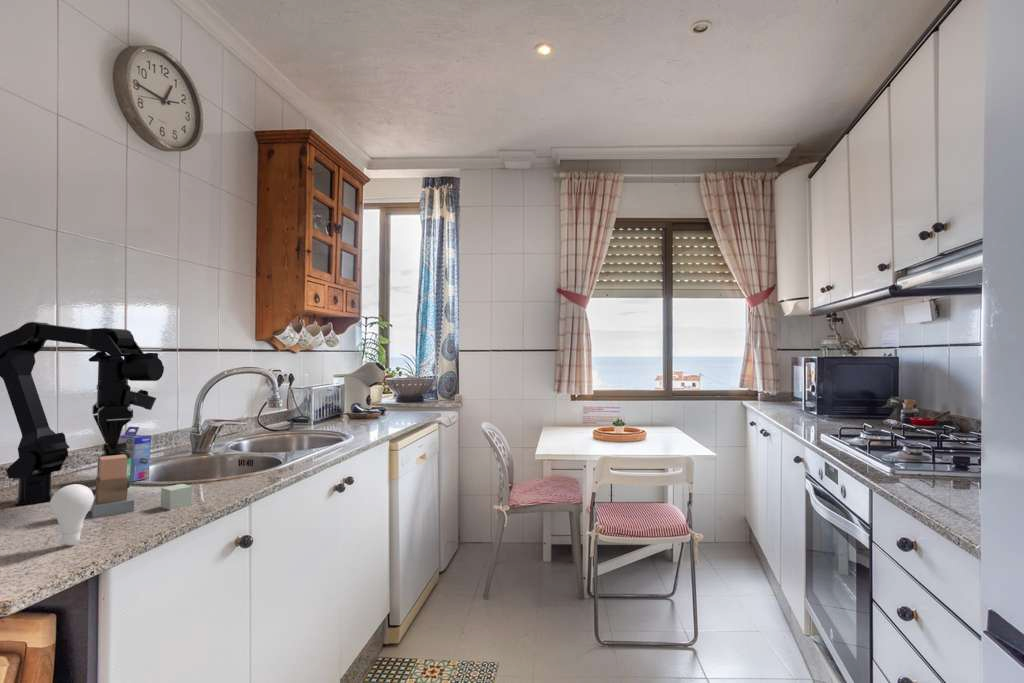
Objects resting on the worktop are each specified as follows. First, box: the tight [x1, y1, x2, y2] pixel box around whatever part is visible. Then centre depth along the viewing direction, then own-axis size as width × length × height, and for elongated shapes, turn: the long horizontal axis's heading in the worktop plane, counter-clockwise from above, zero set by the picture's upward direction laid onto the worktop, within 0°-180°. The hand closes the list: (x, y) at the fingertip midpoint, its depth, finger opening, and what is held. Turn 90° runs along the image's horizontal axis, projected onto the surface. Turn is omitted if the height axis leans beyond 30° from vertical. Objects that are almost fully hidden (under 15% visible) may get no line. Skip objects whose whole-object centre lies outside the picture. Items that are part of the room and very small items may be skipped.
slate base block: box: [90, 493, 135, 519], centre depth 114 cm, size 7×7×3 cm
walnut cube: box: [94, 476, 128, 505], centre depth 113 cm, size 5×5×5 cm
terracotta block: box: [98, 454, 127, 481], centre depth 114 cm, size 4×4×4 cm
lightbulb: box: [49, 483, 95, 547], centre depth 93 cm, size 6×6×11 cm
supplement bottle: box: [96, 441, 131, 490], centre depth 132 cm, size 7×7×12 cm
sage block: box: [160, 483, 193, 511], centre depth 118 cm, size 4×4×4 cm
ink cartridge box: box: [118, 426, 152, 483], centre depth 143 cm, size 10×6×14 cm, turn 78°
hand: (110, 446), depth 121 cm, fingers open, 9 cm apart
